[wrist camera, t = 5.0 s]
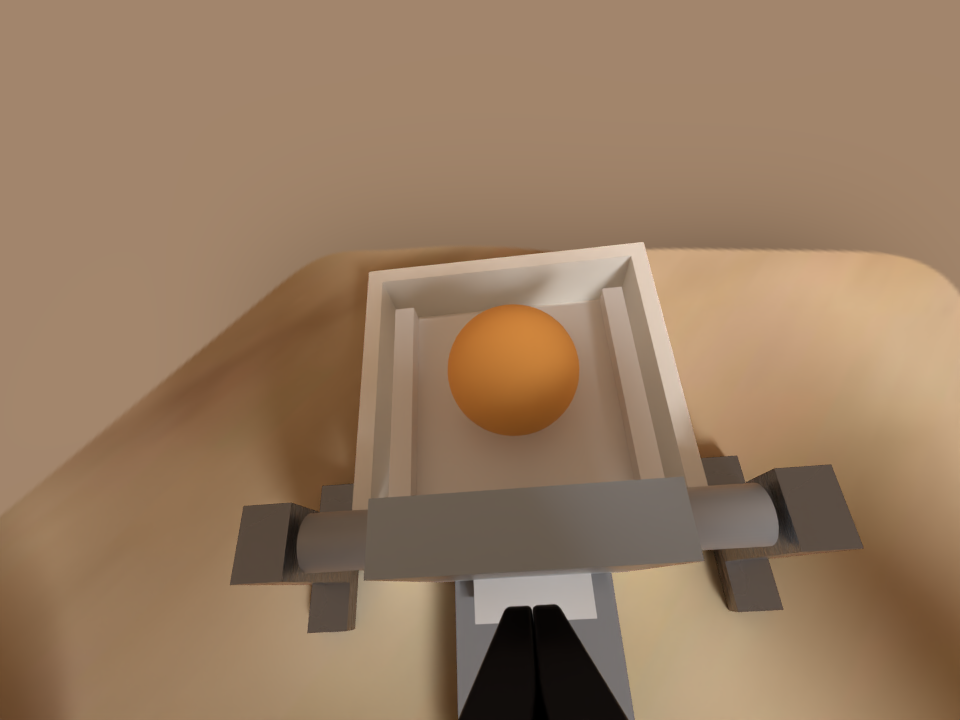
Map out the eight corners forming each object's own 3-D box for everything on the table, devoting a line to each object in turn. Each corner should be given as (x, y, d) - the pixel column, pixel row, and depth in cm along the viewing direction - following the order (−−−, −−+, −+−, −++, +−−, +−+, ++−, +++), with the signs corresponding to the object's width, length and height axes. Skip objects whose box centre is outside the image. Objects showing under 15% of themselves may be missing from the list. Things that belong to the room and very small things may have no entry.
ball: (582, 446, 13) (597, 402, 10) (459, 455, 13) (436, 415, 10) (565, 337, 15) (574, 270, 11) (456, 348, 15) (435, 285, 12)
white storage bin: (687, 551, 16) (723, 543, 13) (381, 569, 17) (347, 566, 14) (627, 291, 21) (643, 242, 18) (392, 315, 22) (369, 271, 19)
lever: (770, 791, 13) (1364, 1313, 4) (348, 799, 14) (-29, 1236, 5) (661, 359, 19) (782, 144, 10) (372, 384, 20) (231, 211, 11)
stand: (771, 608, 15) (891, 620, 10) (317, 630, 17) (218, 652, 11) (729, 461, 18) (809, 409, 12) (330, 489, 19) (252, 453, 14)
